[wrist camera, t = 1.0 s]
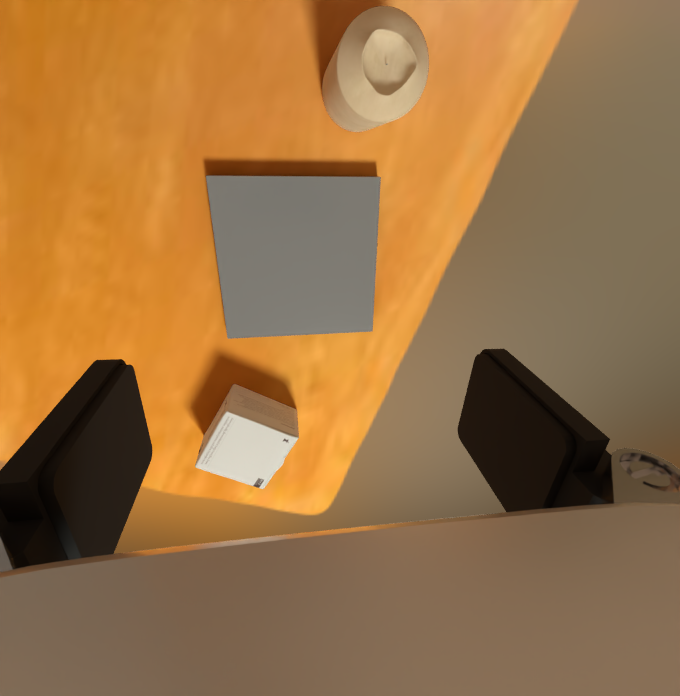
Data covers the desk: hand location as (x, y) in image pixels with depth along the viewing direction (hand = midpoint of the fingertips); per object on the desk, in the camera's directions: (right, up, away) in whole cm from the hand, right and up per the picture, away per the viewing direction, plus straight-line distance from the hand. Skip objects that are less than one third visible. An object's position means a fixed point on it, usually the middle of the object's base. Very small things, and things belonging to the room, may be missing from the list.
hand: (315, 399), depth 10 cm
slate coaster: (-3, +10, +24) cm, 26 cm away
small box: (-9, -7, +31) cm, 33 cm away
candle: (+2, +22, +19) cm, 29 cm away
